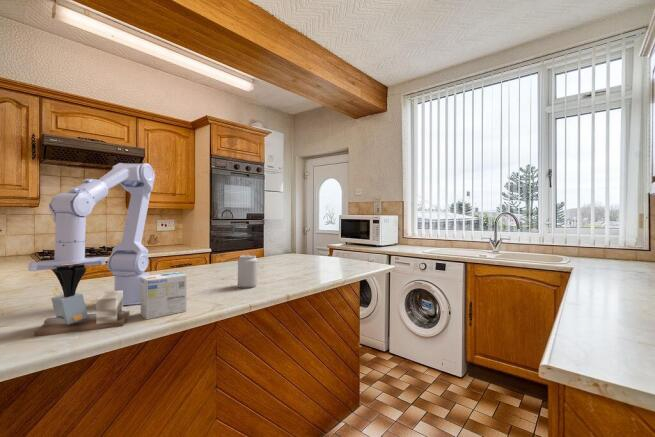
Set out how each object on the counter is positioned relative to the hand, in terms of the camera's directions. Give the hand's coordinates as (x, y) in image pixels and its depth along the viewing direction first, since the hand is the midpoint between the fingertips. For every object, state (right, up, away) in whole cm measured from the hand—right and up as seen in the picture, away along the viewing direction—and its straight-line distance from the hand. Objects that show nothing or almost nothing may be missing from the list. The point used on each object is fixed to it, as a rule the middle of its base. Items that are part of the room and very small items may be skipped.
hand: (68, 297), depth 75 cm
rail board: (+3, -7, +2) cm, 8 cm away
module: (0, -6, +1) cm, 6 cm away
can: (+33, -7, +44) cm, 55 cm away
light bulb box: (+17, -8, +12) cm, 22 cm away
